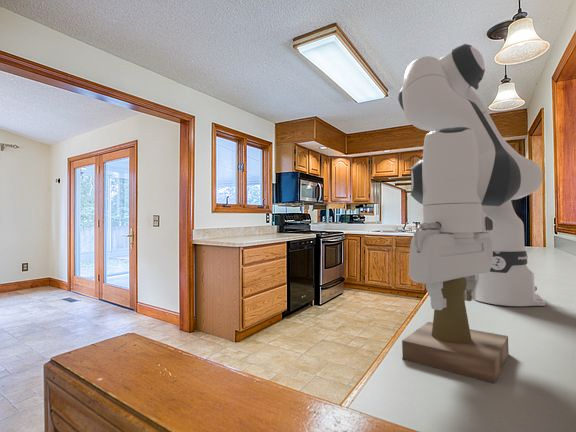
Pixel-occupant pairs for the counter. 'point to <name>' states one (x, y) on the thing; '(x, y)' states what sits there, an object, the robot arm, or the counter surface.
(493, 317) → the counter surface
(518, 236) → the robot arm
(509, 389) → the counter surface
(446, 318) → the olive pawn
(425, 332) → the walnut base
